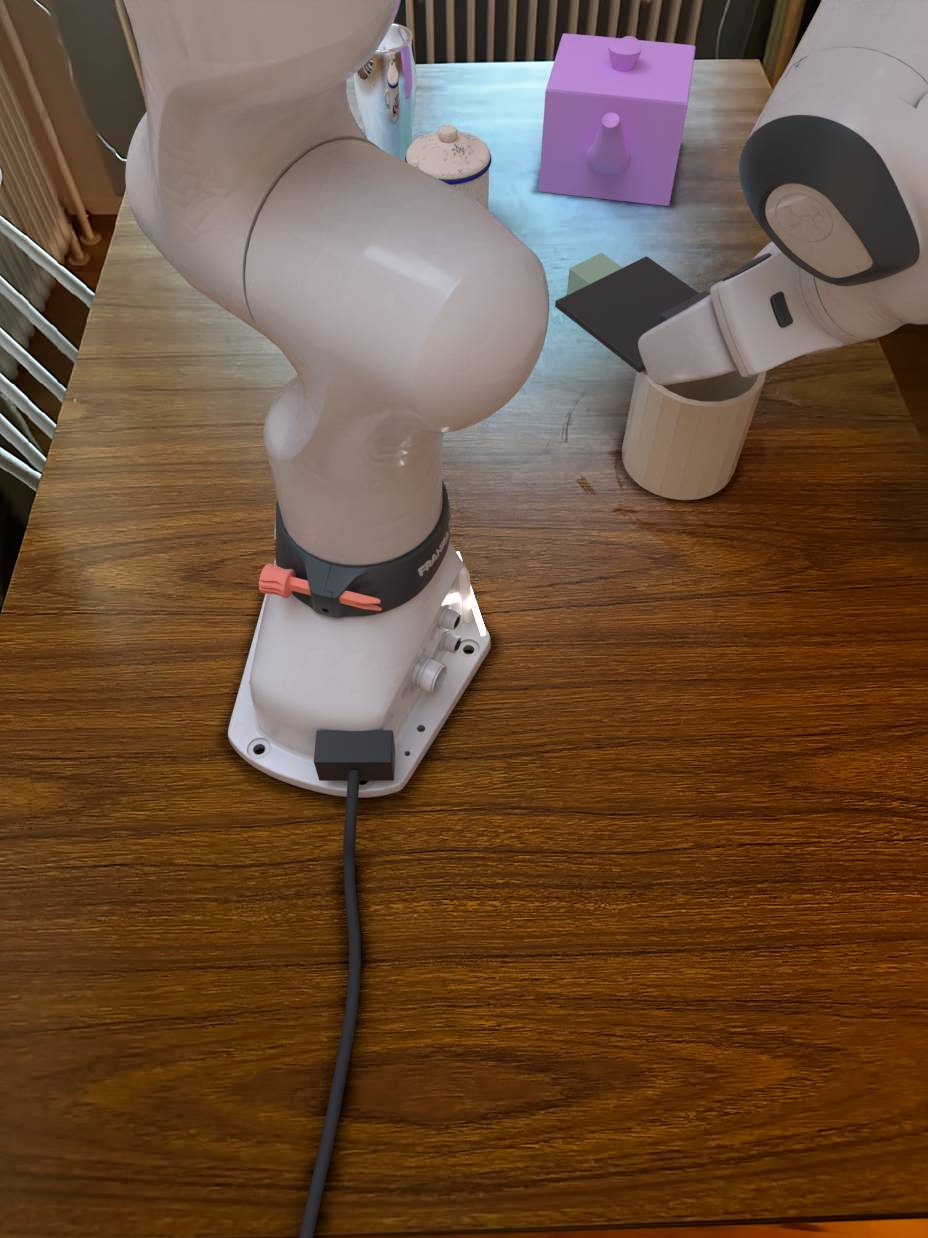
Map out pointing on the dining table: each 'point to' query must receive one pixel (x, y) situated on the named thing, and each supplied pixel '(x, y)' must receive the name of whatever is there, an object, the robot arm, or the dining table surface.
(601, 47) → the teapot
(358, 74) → the silver metal cup
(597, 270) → the block
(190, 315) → the dining table surface
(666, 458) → the beige cylindrical container
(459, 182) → the teacup with lid
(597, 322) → the slider lid
